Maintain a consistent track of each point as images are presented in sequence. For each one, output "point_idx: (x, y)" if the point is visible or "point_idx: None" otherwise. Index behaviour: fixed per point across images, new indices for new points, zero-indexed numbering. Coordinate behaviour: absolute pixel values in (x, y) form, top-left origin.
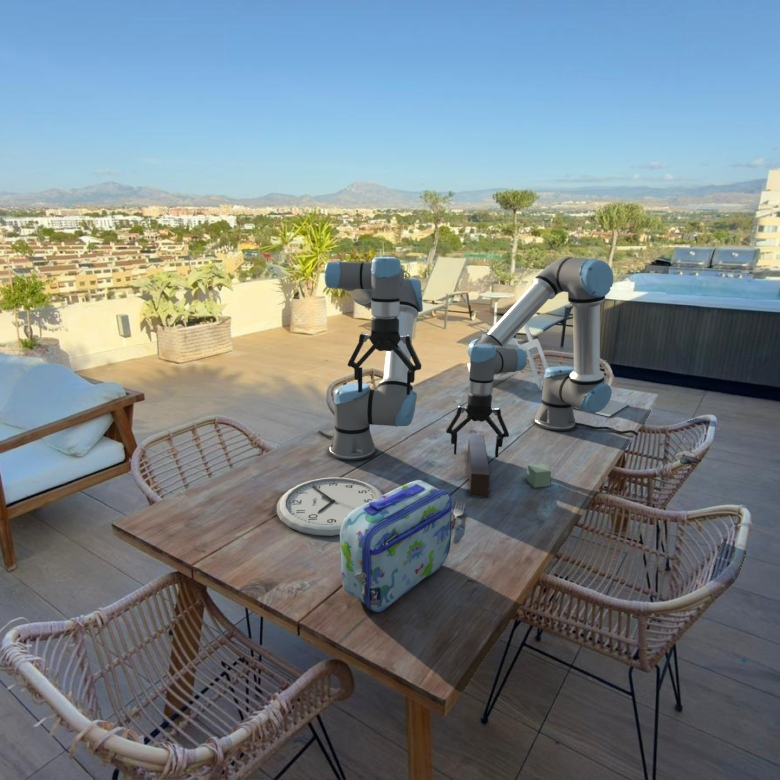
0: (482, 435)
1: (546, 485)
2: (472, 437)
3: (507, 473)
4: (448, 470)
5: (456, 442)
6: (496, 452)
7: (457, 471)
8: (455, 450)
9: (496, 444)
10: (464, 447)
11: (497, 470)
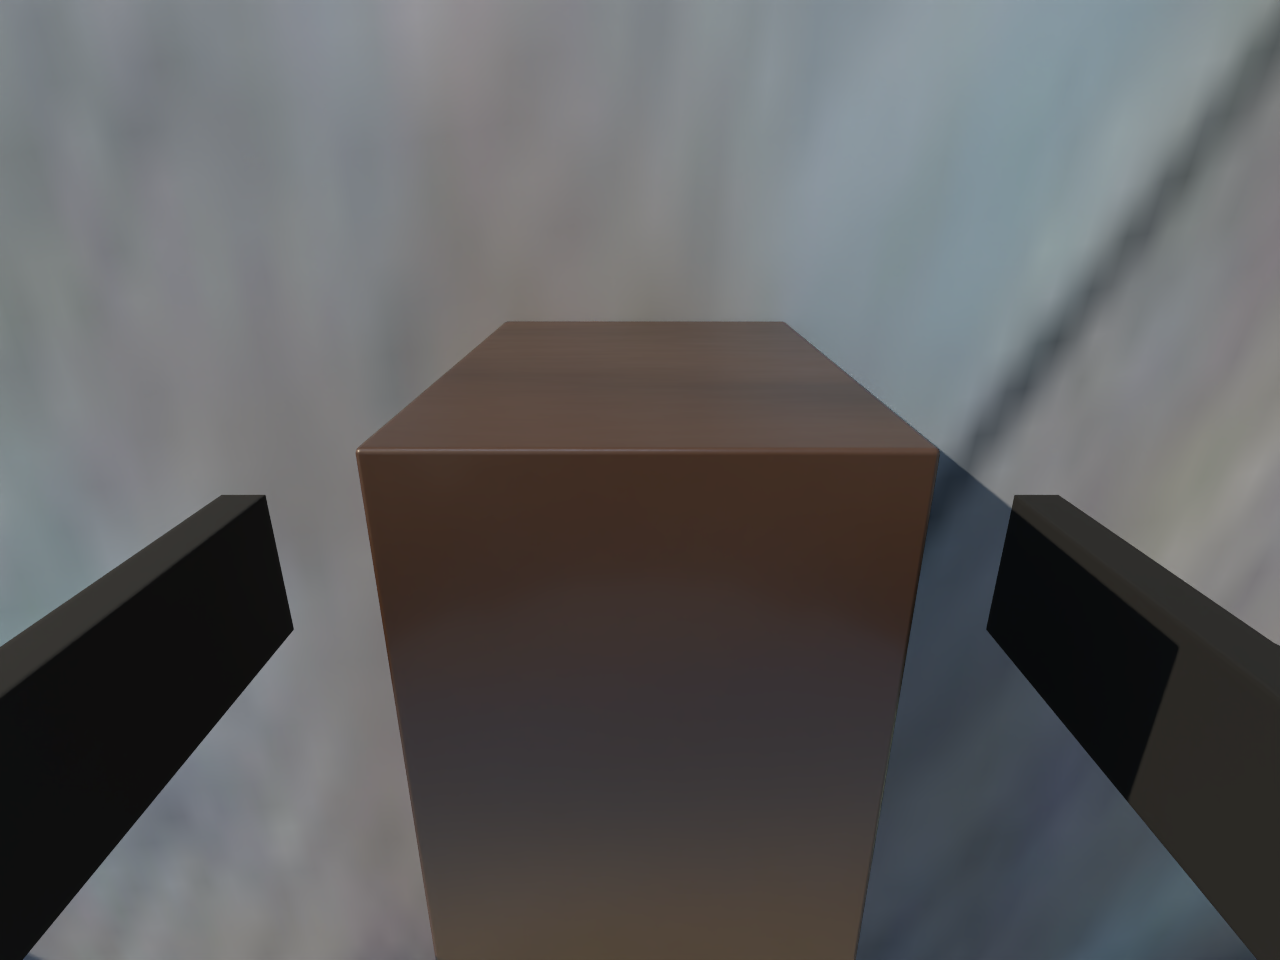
0: (868, 535)
1: None
2: (505, 738)
3: (1025, 876)
4: (298, 894)
5: (131, 817)
6: (1043, 685)
7: (409, 902)
8: (238, 675)
9: (1150, 778)
10: (419, 18)
11: (916, 826)
